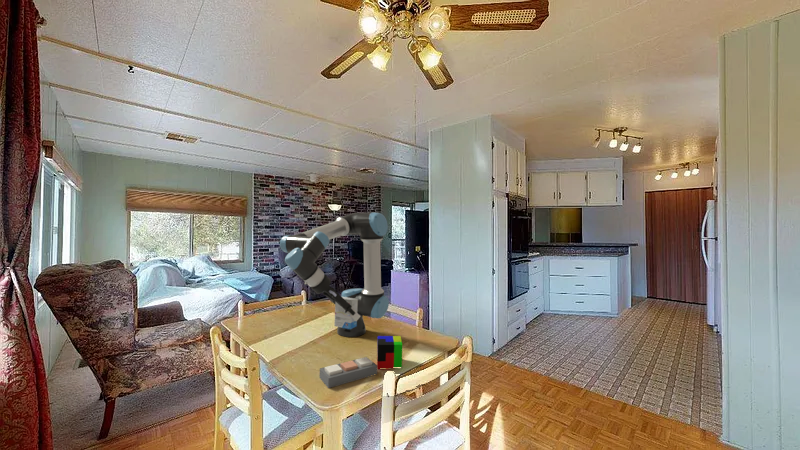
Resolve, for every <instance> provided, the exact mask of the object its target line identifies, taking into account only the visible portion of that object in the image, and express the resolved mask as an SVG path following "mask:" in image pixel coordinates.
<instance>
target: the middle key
mask: <svg viewBox="0 0 800 450" xmlns="http://www.w3.org/2000/svg"><path fill="white" fill-rule="evenodd" d="M339 364H340V367H341V368H342V369H343V370H344V371H349V370H353V369H357V368H358V365H357V364H356V363H355V362H353V361H352V360H348V361H345V362H341V363H340V362H339Z"/></svg>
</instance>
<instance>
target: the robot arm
mask: <svg viewBox="0 0 800 450" xmlns="http://www.w3.org/2000/svg"><path fill="white" fill-rule="evenodd" d="M388 229H389V228H388V220H387V218H386V217H385V215H384V214H383V213H380V212H372V211H371V212H354V213H350V214H347V215H344V216H341V217H338V218H337V219H335V221H332V222H330V223H327V224H324V225H321V226H318V227H314V228H312V229H309V230H305V231H303V232H300V233H297V234H294V235H290V234H289V235H288V234H287V235H284V236H282V237H281V239H280V240H279V247H280V250H281V251H282V252H284V253H287V254H286V255H285V258H284V263H285V264H286V265H287V266H288V267H289V269H290V270H291V271H293V272H294V273H295V274H296V275H297V276H298V277H299V278H300V279H301V280H302V281H304V285H308V287H310V288H311V289H312V291H313V292H315V293H316V294H317V295H320V294H323V295H324V296H325V297H326V298H327V299H329V301H330V302H331V303H332V304H333V305H335V301H336V302H337V303H338V304H339V305H340V306H341V307H342V308H343V309H345V313H346V312H347V313H348V314H349V315H350V316H351V317H352V318H353V319H354V320H355V321H357V326H356V327H354V328H352V329H346V328H341V327H337V332H336V333H337V334H338V335H339V336H341V337H346V338H347V337H348V338H353V337H355V338H356V337H359V336H363V335H364V334H365V333H366V330H367V329H366V324H365V322H364V317H367V318H372V319H381V318H383V317H384V316H385V315H386V313H387V312H388V309H389V305H390V300H389V297H388V296H386V295H385V290H384V288H382V271H381V269H382V268H381V265H382V264H381V263H382V262H381V259H382V258H381V257H382V256H381V242H382V241H383V239H384V236H385V235H386V234H387V233H388ZM349 235H356V236H357V235H358V236H359V237H360V239H359V240H360V241H361V242H363V243H362V244H363V278H364V279H363V281H364V287H363V288H349V289H345V290H343V291H341V295H340V293H338V292H337V290H335V288H333V286H332V287H331V282H332V280H331V279H330V277H328V276H327V275H326V274H325V272H324V271H323V270H322V269H321V268H320V267H319V266H317V264H316V262H317V260H318V259H319V257H320V256H321V255H322V254H323V252H325V250H327V247H328V246H329V245H330V240H332V239H334V238H338V237H344V236H345V237H346V236H349ZM342 297H348V298H355V299H358V306H357V312H356V311H355V310H354V309H353V308H352V306H351V305H350V304H349V303H348V302H347V301H346V300H344V299H343V298H342Z"/></svg>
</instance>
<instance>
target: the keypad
mask: <svg viewBox="0 0 800 450" xmlns="http://www.w3.org/2000/svg"><path fill="white" fill-rule="evenodd" d="M355 360H356V359H352V360H351V361H353V362H355ZM336 364H337V365H338V366H339V367H340V363H336ZM340 368H341V367H340ZM341 369H342V368H341ZM374 374H376V375H377V374H378V369H377V363H375V362H373V361H372V365H368V366H364V367H359V366H358V368H357V369H353V370H349V371H344V370H343V369H342V373H338V374H334V375H330V376H329V375H328V374H327V373H326V372H325V371H324V367H321V368H319V379H320V380H321V381H322V382H323V384H324V385H325V386H326V387H327V388H328V389H330V388H333V387H334V388H335V387H337V386H341V385H343V384H344V385H346V384H348V383H351V382H355V381H357V380H361V379H362V380H363V379H365V377H366V378H369V377H372V376H371V375H373V376H375V375H374ZM368 376H369V377H368Z"/></svg>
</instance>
